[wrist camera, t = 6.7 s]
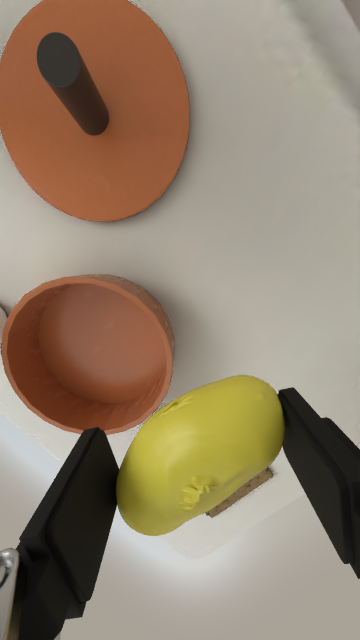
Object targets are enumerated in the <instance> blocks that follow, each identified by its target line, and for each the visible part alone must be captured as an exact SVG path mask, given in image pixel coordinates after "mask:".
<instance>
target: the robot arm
mask: <svg viewBox="0 0 360 640" xmlns="http://www.w3.org/2000/svg"><path fill="white" fill-rule="evenodd" d="M277 396H278V398H279V401H280V403H281V406H282V410H283V414H284V421H285V436H284V442H283V449H284V452H285V455H286V457H287V459H288V461H289V463H290V465H291V467H292V469H293V470H294V472H295V474H296V476H297V478H298V480H299V482H300V484H301V485H302V487H303V489H304V491H305V493H306V495H307V497H308V498H309V500H310V502H311V504H312V506H313V508H314V510H315V512H316V514H317V516H318V517H319V519H320V521H321V523H322V525H323V527H324V529H325V530H326V532H327V534H328V536H329V538H330V540H331V542H332V544H333V545H334V548H335V549H336V551H337V553H338V555H339V557H340V559H341V560H342V561H343V563H344V564H348V563H350V565H351V566H352V568H353V570H354V572H355V574H356V575H357V577H358V579H360V449H359V448H358V447H357V446H356V445H355V444H354V443H353V442H352V441H351V440H350V439H349V438H348V437H347V436H346V435H345V434H344V433H343V431H342V430H341V429H340V428H339V427H338V426H337V425H336V424H335V423H334V422H333V421H332V420H331V419H330V418H327V417H326V418H321V417H320V416H319V415H318V414H317V413H316V412H315V411H314V410H313V409H312V407H311V406H310V405H309V404H308V403H307V402H306V401H305V400H304V398H303V397H302V396H301V395H300V394H299V393H298V392H297V391H296V389H295V388H293V387H292V388H287V389H282V390H279V394H277ZM118 473H119V468H118V465H117V463H116V460H115V457H114V455H113V452H112V450H111V447H110V444H109V442H108V439H107V437H106V434H105V432H104V430H101V429H100V428H99V427H95V428H90V429H85V430H84V431H83V432H82V434H81V436H80V437H79V439H78V441H77V442H76V444H75V446H74V448H73V449H72V451H71V453H70V454H69V456H68V458H67V459H66V461H65V463H64V464H63V466H62V468H61V469H60V471H59V473H58V474H57V476H56V478H55V479H54V481H53V483H52V485H51V486H50V488H49V489H48V491H47V493H46V495H45V496H44V498H43V500H42V501H41V503H40V504H39V506H38V508H37V509H36V511H35V513H34V515H33V516H32V518H31V520H30V521H29V523H28V524H27V526H26V528H25V530H24V531H23V533H22V535H21V536H20V538H19V539H20V543H19V545H18V546H17V548H16V549H13V548H8V549H4V550H2V551H0V640H60V632H61V630H62V627H63V624H64V621H65V619H72V618H79V617H82V615H83V612H84V609H85V605H86V602H87V601H89V600H90V598H91V596H92V594H93V591H94V587H95V583H96V580H97V576H98V573H99V569H100V565H101V562H102V558H103V554H104V551H105V547H106V543H107V540H108V536H109V532H110V529H111V525H112V522H113V518H114V514H115V510H116V507H117V498H116V484H117V477H118Z"/></svg>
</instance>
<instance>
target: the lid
mask: <svg viewBox="0 0 360 640" xmlns="http://www.w3.org/2000/svg"><path fill="white" fill-rule="evenodd" d="M189 122H190V111H189V98H188V91H187V86H186V82H185V78H184V74H183V71H182V68H181V66H180V63H179V60H178V58H177V56H176V54H175V52H174V50H173V48H172V46H171V44H170V42H169V41H168V39H167V38H166V37H165V35H164V34H163V32H162V31H161V29H160V28H159V27H158V26H157V25H156V24H155V23H154V21H153V20H152V19H151V18H150V17H149V16H148V15H146V14H145V13H144V12H143V11H142V10H141V9H139V8H138V7H137V6H135V5H134V4H132V3H130V2H129V1H127V0H43V1H42V2H40V3H39V4H38V5H36V6H35V7H33V8H32V9H31V10H30V11H29V12H28V13H27V14H26V15H25V16H24V17H23V18H22V20H21V21H20V22H19V24H18V25H17V26H16V28H15V29H14V31H13V33H12V34H11V36H10V38H9V40H8V42H7V44H6V47H5V50H4V52H3V55H2V58H1V62H0V128H1V133H2V136H3V139H4V142H5V145H6V147H7V150H8V152H9V154H10V156H11V158H12V160H13V162H14V164H15V166H16V167H17V169H18V171H19V172H20V174H21V175H22V176H23V178H24V179H25V180H26V182H27V183H28V184H29V185H30V186H31V187H32V189H33V190H34V191H35V192H36V193H37V194H38V195H40V196H41V197H42V198H43V199H44V200H45V201H47V202H48V203H49V204H51V205H52V206H54V207H55V208H57V209H59V210H61V211H63V212H65V213H67V214H69V215H72V216H74V217H77V218H80V219H84V220H89V221H97V222H108V221H117V220H121V219H125V218H128V217H131V216H133V215H136V214H138V213H139V212H141V211H143V210H145V209H146V208H148V207H149V206H150V205H152V204H153V203H154V202H155V201H156V200H157V199H158V198H159V197H160V196H161V195H162V194H163V193H164V192H165V191H166V189H167V188H168V187H169V186H170V184H171V182H172V181H173V179H174V177H175V176H176V174H177V172H178V170H179V167H180V165H181V163H182V160H183V157H184V154H185V150H186V146H187V141H188V135H189Z"/></svg>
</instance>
